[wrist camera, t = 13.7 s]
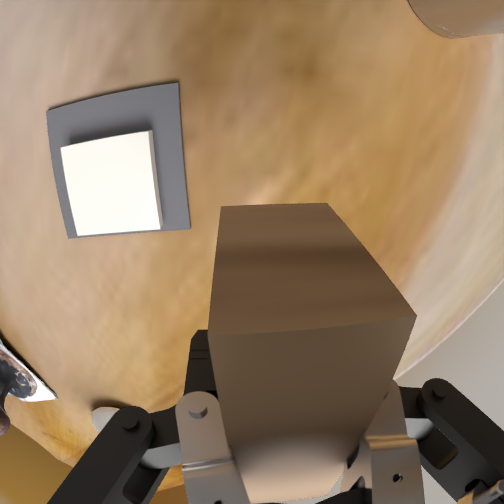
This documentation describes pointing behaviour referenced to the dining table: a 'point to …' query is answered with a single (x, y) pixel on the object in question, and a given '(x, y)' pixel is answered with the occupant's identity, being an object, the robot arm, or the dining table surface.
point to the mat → (123, 122)
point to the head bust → (18, 384)
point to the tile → (113, 184)
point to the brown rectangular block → (299, 344)
